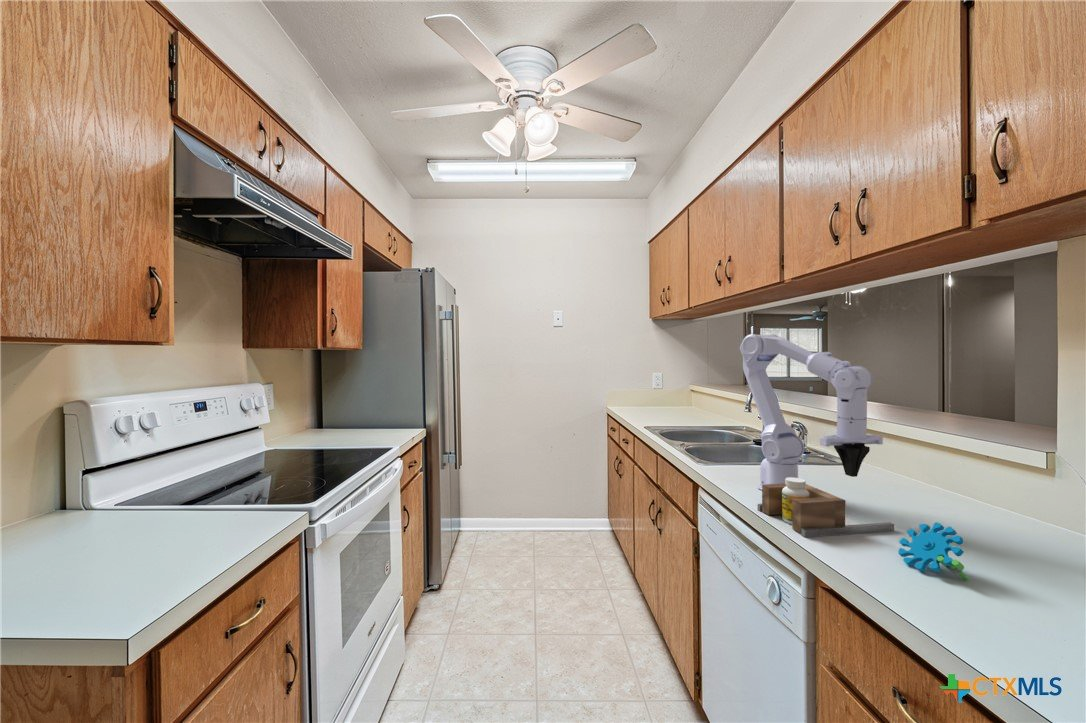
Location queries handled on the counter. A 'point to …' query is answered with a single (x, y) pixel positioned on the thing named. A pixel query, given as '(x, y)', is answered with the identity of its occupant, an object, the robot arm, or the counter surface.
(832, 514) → the housing
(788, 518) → the supplement bottle
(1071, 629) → the counter surface
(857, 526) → the guide rails
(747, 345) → the robot arm
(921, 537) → the gear
